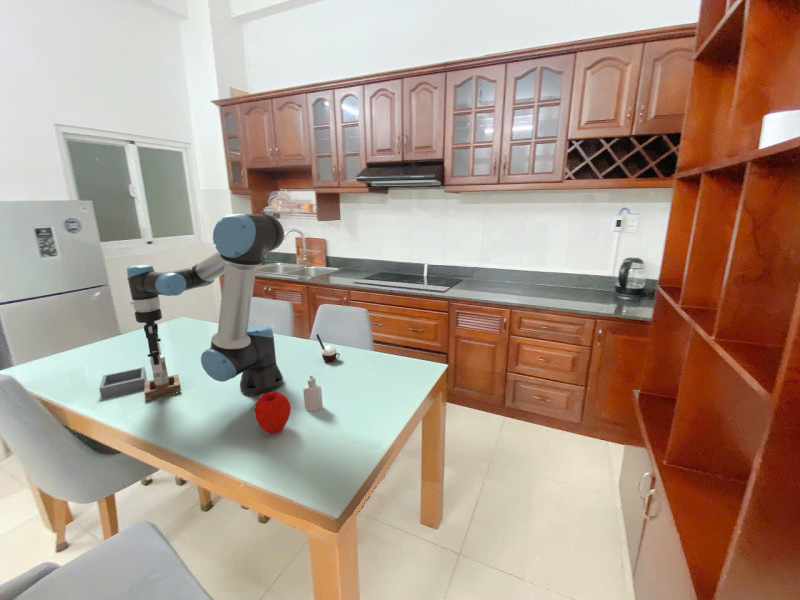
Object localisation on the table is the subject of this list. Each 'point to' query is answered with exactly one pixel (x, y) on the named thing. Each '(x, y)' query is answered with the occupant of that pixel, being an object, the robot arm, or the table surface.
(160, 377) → the sprinkles bottle
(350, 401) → the table surface
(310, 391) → the eye dropper bottle
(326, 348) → the cocoa
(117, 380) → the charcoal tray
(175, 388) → the walnut collar
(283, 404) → the apple
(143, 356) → the table surface
